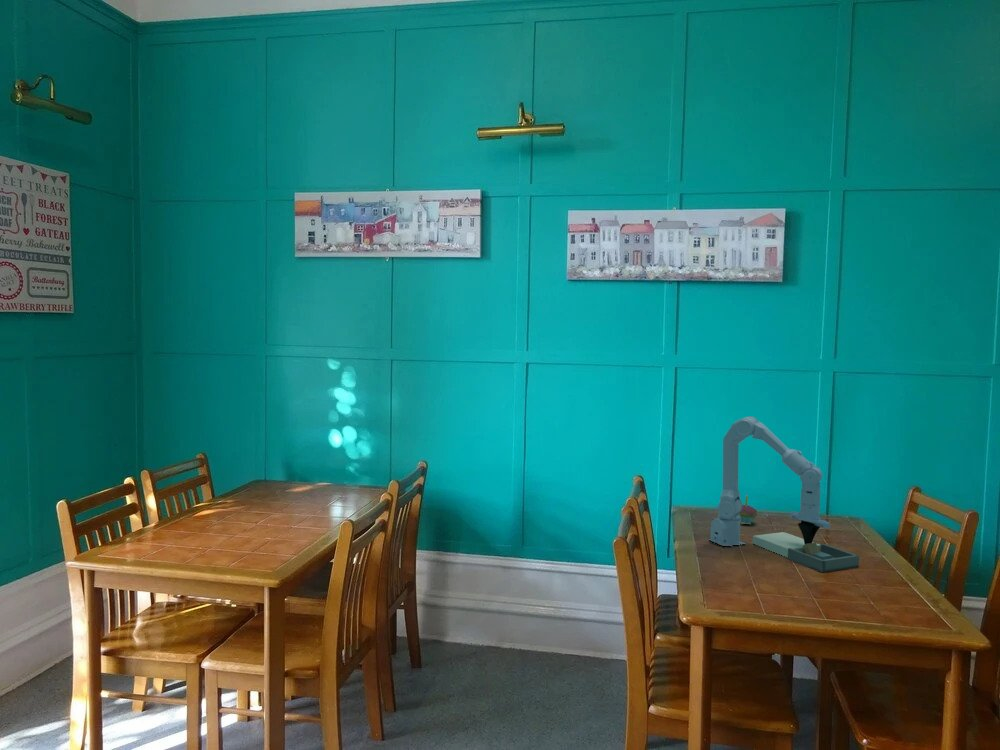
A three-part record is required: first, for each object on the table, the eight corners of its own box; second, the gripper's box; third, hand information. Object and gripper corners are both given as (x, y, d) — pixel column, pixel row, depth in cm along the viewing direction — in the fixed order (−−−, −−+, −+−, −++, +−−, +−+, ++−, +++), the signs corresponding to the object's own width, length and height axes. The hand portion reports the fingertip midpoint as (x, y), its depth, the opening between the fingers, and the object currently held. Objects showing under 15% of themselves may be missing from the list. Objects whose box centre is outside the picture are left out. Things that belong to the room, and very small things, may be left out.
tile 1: (807, 557, 227) (812, 555, 226) (802, 545, 229) (806, 543, 228) (816, 556, 229) (821, 554, 227) (811, 544, 231) (815, 542, 229)
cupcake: (758, 527, 265) (760, 495, 264) (734, 525, 266) (736, 494, 265) (753, 521, 273) (755, 490, 272) (731, 519, 274) (732, 489, 274)
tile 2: (812, 553, 226) (812, 559, 226) (822, 556, 222) (822, 563, 222) (821, 551, 227) (821, 557, 228) (831, 555, 224) (831, 561, 224)
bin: (822, 572, 215) (822, 561, 215) (787, 558, 227) (788, 548, 227) (858, 566, 221) (859, 555, 221) (822, 553, 234) (823, 543, 234)
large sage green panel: (788, 558, 228) (789, 549, 228) (752, 544, 243) (753, 535, 242) (820, 553, 234) (821, 545, 233) (783, 540, 248) (783, 532, 248)
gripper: (837, 508, 224) (835, 550, 225) (801, 497, 237) (799, 537, 238) (821, 509, 221) (819, 552, 222) (785, 499, 234) (783, 539, 235)
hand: (808, 545), depth 230 cm, fingers closed, pressing on tile 1
